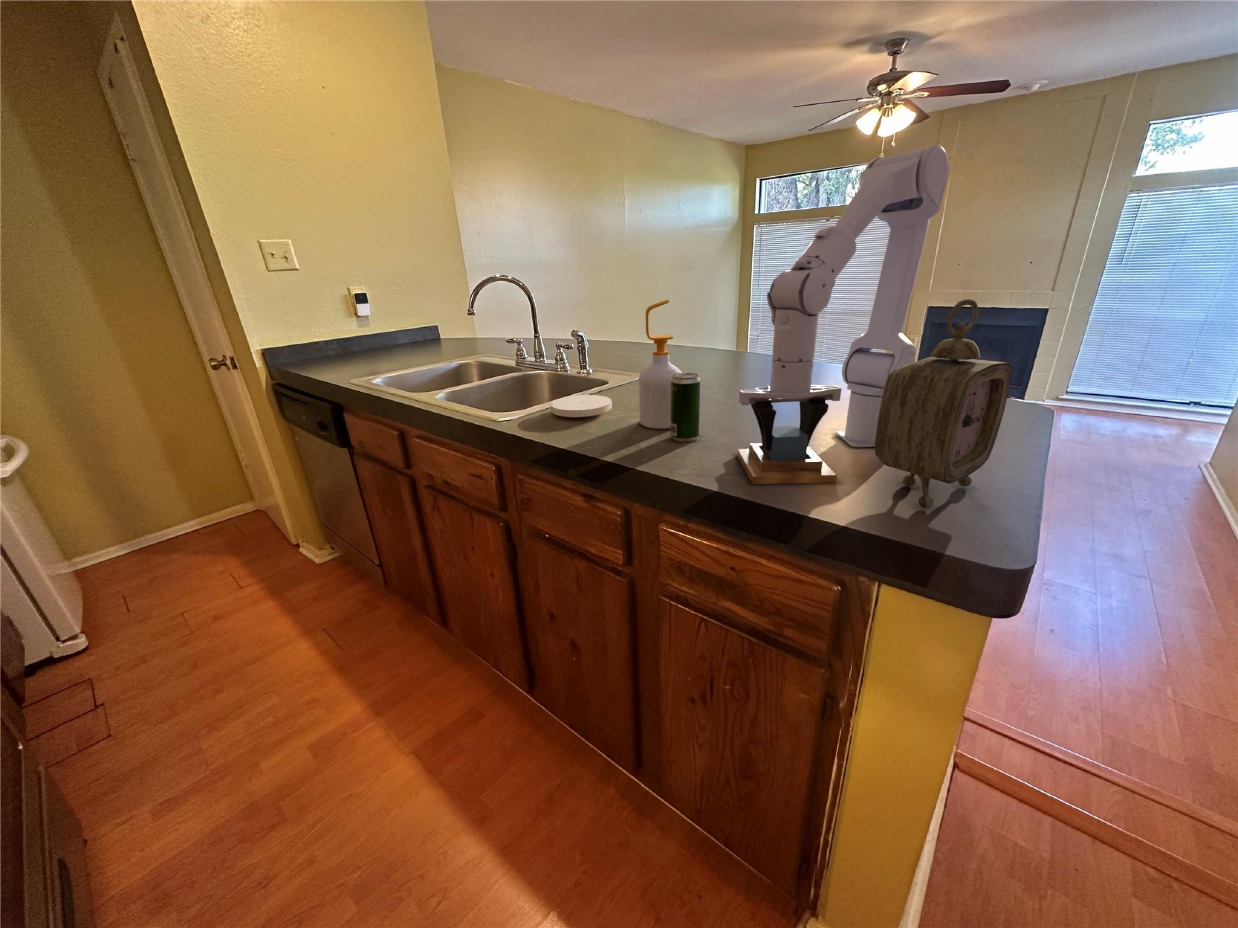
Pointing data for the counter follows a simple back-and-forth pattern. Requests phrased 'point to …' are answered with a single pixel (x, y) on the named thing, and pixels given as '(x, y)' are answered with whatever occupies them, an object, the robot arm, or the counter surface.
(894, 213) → the robot arm
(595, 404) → the plastic lid
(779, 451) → the dark gray block
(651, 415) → the soap bottle
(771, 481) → the base pad
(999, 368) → the tabletop clock
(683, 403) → the beer can
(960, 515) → the counter surface
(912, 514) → the counter surface
